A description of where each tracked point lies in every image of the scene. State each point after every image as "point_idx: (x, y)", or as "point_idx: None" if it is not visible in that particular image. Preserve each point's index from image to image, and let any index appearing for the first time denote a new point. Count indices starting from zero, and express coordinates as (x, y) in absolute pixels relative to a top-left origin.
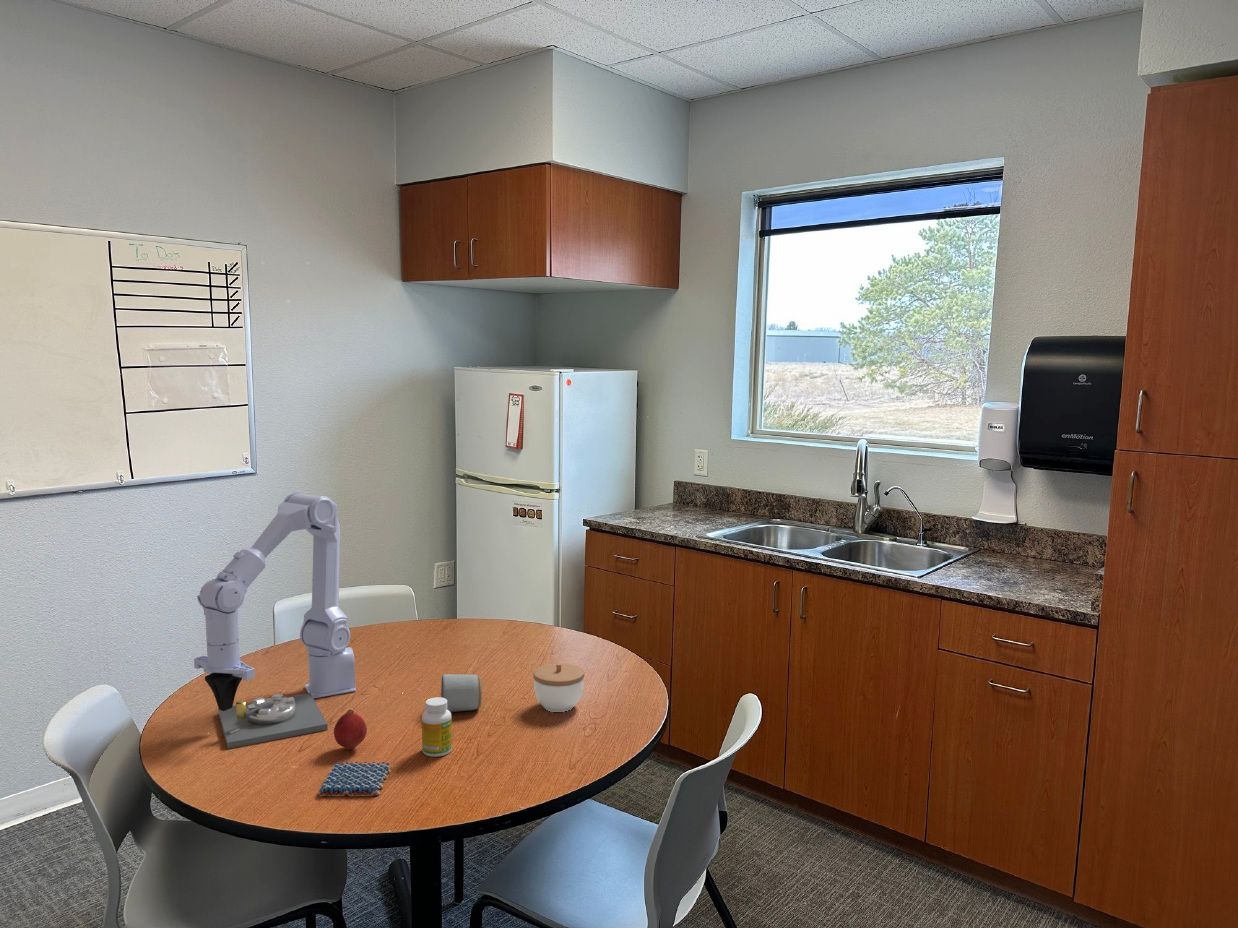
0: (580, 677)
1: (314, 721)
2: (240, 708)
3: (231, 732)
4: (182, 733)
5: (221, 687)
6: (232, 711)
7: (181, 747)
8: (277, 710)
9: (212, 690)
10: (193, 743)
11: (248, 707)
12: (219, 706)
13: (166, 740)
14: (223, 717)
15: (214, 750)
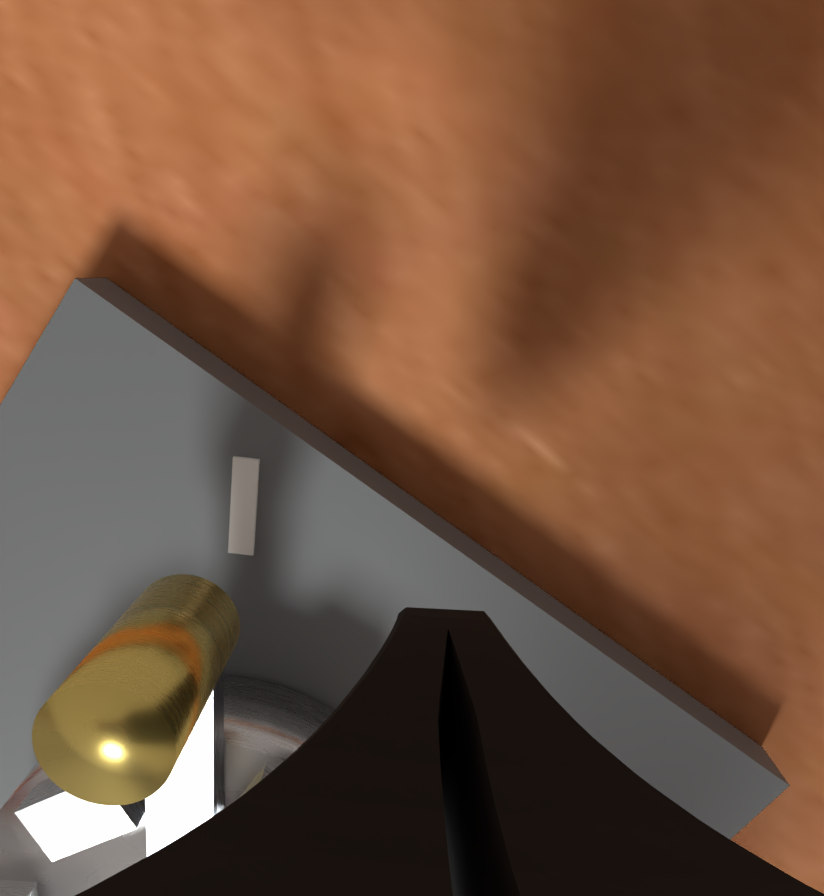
0: None
1: None
2: (89, 659)
3: (237, 461)
4: (765, 338)
5: (225, 830)
6: None
7: (526, 98)
8: (51, 879)
9: (608, 763)
10: (491, 221)
11: None
12: (462, 624)
13: (796, 151)
14: (589, 670)
15: (184, 196)
